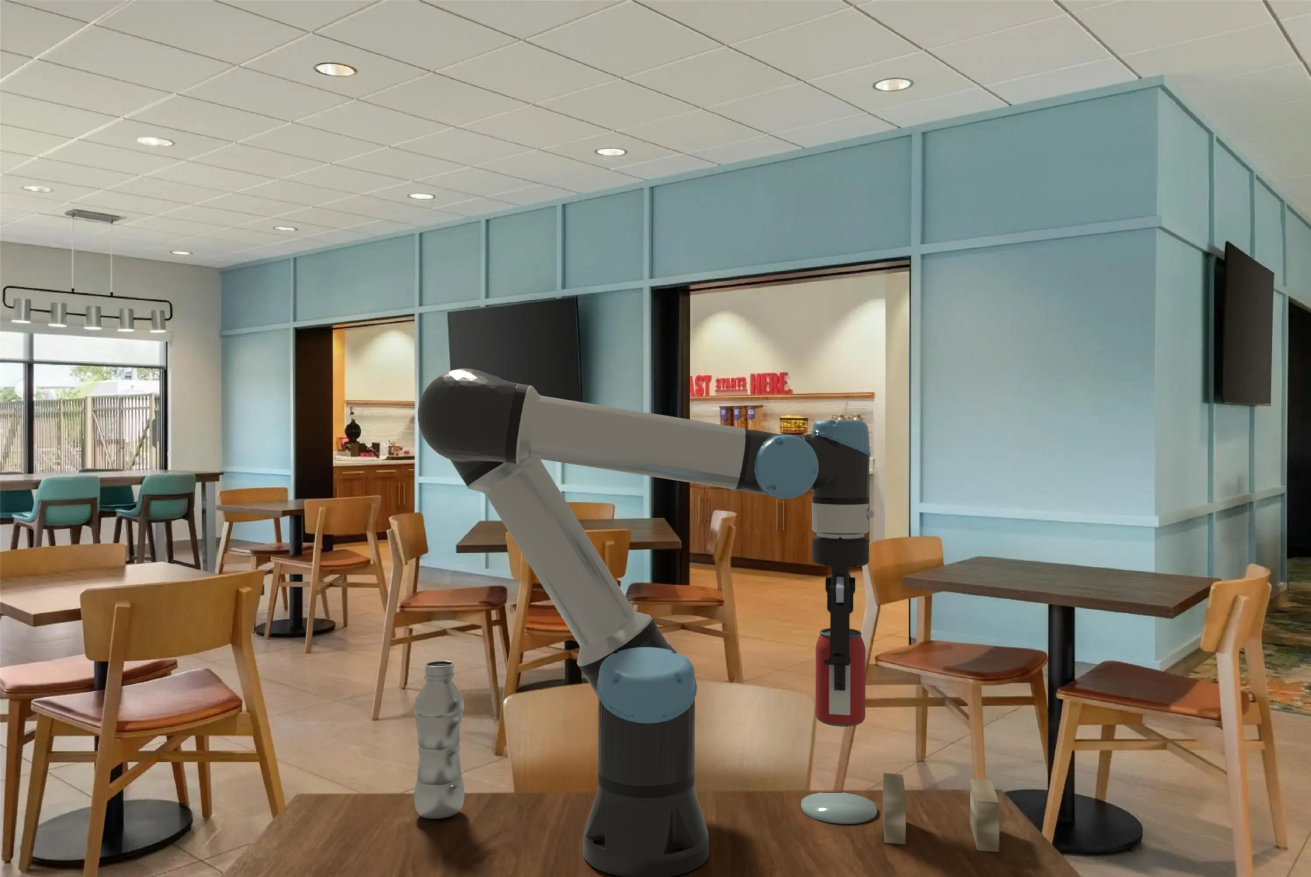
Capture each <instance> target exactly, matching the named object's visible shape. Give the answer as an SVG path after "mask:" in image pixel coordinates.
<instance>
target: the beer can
mask: <svg viewBox="0 0 1311 877" xmlns="http://www.w3.org/2000/svg"><path fill="white" fill-rule="evenodd" d="M835 654H844V653H835ZM829 656H830V627H828V628H822V629H820V631H819V636H818V638H817V641H816V645H815V700H814V701H815V705H814V706H815V707H814V708H815V717H816V719H817V720H818V721H819V722H820V723H822V724H824V725H827V726H832V727H840V728H843V727H844V728H845V727H855V726H858V725H860V724H862V723H864V721H865V720H866V664H867V663H866V645H865V643H864V640H863V636H862V632H861V631H860V630H858V629H853V628H850V629H849V656H850V663H849V664H850V715H838V714H829V665H824V659H829Z"/></svg>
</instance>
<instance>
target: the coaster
mask: <svg viewBox="0 0 1311 877" xmlns="http://www.w3.org/2000/svg"><path fill="white" fill-rule="evenodd" d="M800 809H801V811H802V813H804V814H805V815H806V816H808V817H809V818H812V819H814V820H817V821H820V822H824V823H830V824H837V825H838V824H839V825H855V824H862V823H865V822H868V821H871V820H873V819H874V818H876V816H877V815H878V807H877V805H876V803H875V802H873V801H872V800H870V799H869V798H866V797H864V796H862V795H858V794H853V793H849V792H842V793H822V792H817V793H812V794H809V795H806V796H805V797H803V798H802V800H801V802H800Z"/></svg>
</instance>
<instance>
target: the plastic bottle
mask: <svg viewBox="0 0 1311 877" xmlns="http://www.w3.org/2000/svg"><path fill="white" fill-rule="evenodd" d="M454 665H455V664H454V662H453V661H452V660H451V661H450V660H432V661H428V662H426V663H425V665H424V666H425V668H424V670H425V671H424V676H423V677H424V679H425V680H426V683H425V684H424V685H423V686H422V688H421V690H419V693H418V694H417V696H416V697H415V700H414V703H413V711H414V718H415V719H414V720H415V726H416V731H417V732H416V733H417V745H418V750H417V751H418V758H417V775H416V780H415V786H414V791H413V792H414V793H413V802H414V808H415V811H416V812H417V813H418V814H419V816H420V817H422V818H426V819H434V820H437V819H439V820H440V819H444V818H445V819H446V818H449V817H452V816H455V815H457V814H458V813H460V811H461V809H462V808H463V806H464V800H465V794H466V792H465V784H464V779H463V777H462V766H461V763H462V762H461V754H460V752H461V749H460V748H461V745H460V743H461V730H462V724H463V714H464V709H465V701H464V698H463V695H462V693H461V691H460V690H459V688H458V687H457V685H456V684H455V683H454V681H453V679H454V678H455V670H454V669H455V668H454Z"/></svg>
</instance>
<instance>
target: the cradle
mask: <svg viewBox="0 0 1311 877" xmlns="http://www.w3.org/2000/svg"><path fill="white" fill-rule="evenodd" d="M882 775H883V776H882V781H883V782H882V824H883V825H882V826H883V837H884V838H883V839H884V843H885V844H896V845H906V826H907V824H906V822H907V817H906V816H907V814H906V813H907V812H906V811H907V807H906V806H907V803H906V802H907V800H906V799H907V795H906V794H907V793H906V789H905V788H906V787H905V780H904V774H902V773H889V772H883V773H882ZM995 790H996V789H995V788H994V785H993V783H992V780H989V779H975V778H970V791H969V792H970V795H969V798H970V799H969V800H970V801H969V802H970V803H969V804H970V806H969V807H970V809H969V810H970V811H969V812H970V814H969V816H970V817H969V827H970V830H971V833H972V835H973V837H972V838H973V840H974V843H975V847H976V850H977V851H983V852H993V853H994V852H995V853H1000V801H999V798H998V795H997V793H996V791H995Z"/></svg>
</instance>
